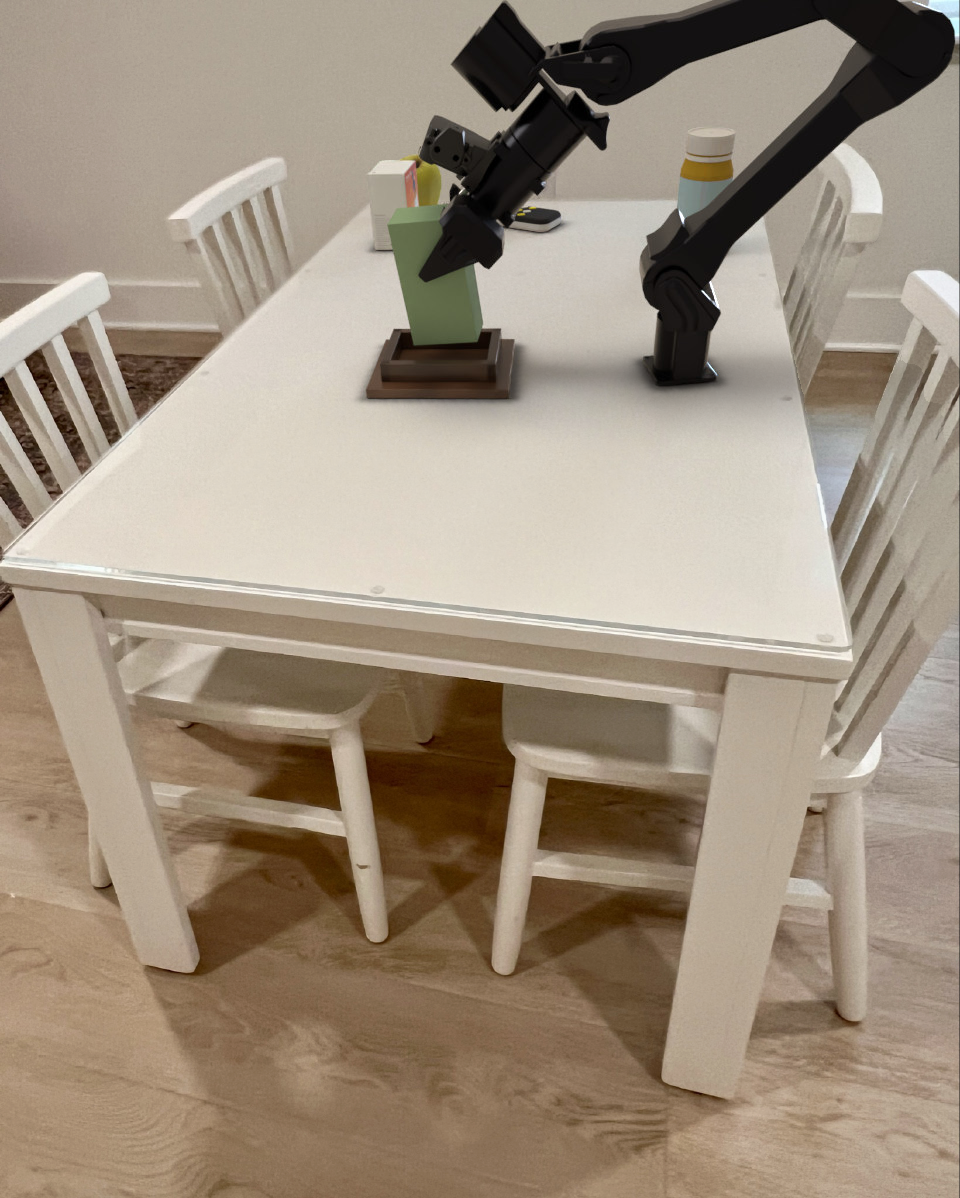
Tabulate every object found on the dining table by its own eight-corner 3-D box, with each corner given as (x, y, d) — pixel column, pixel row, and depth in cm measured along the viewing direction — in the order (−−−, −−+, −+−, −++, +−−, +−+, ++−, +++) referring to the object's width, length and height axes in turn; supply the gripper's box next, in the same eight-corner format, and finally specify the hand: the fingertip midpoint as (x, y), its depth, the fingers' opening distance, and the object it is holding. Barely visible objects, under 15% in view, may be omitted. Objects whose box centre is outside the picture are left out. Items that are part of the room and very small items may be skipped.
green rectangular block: (421, 327, 98) (396, 208, 89) (483, 323, 96) (464, 201, 87) (413, 345, 95) (386, 224, 86) (477, 342, 94) (456, 218, 85)
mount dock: (515, 346, 102) (514, 321, 100) (508, 398, 92) (508, 371, 90) (386, 347, 104) (383, 322, 102) (366, 398, 94) (363, 371, 92)
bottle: (723, 257, 123) (739, 138, 113) (672, 256, 124) (683, 137, 114) (723, 241, 128) (738, 125, 118) (673, 240, 129) (684, 125, 120)
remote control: (545, 234, 134) (545, 220, 132) (473, 223, 139) (473, 209, 138) (564, 222, 138) (564, 209, 136) (494, 212, 143) (493, 199, 142)
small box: (411, 251, 130) (404, 173, 123) (373, 250, 131) (365, 173, 124) (422, 234, 136) (416, 159, 129) (386, 233, 137) (379, 159, 130)
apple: (398, 196, 149) (409, 134, 142) (441, 213, 148) (454, 152, 141) (379, 210, 143) (390, 146, 136) (424, 228, 142) (437, 165, 136)
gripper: (476, 65, 87) (378, 188, 95) (457, 104, 73) (344, 244, 81) (556, 150, 91) (456, 261, 99) (552, 203, 77) (436, 327, 85)
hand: (424, 270), depth 91 cm, fingers closed on green rectangular block, 4 cm apart
